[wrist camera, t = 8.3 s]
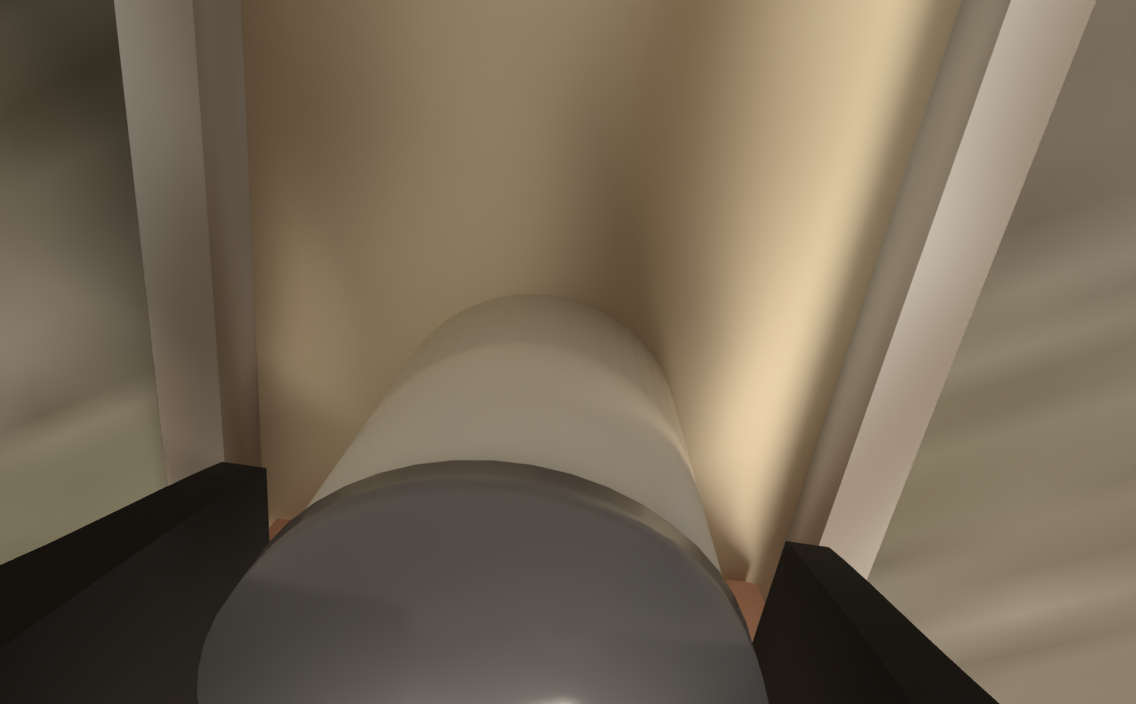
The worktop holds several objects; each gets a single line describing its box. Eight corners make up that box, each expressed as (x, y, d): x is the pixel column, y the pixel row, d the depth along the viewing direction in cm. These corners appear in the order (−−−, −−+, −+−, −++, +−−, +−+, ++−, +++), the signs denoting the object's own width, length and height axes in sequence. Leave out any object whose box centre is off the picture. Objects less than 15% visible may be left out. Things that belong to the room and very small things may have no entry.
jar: (697, 297, 10) (823, 521, 5) (664, 554, 12) (726, 929, 7) (382, 280, 10) (146, 480, 5) (398, 537, 12) (240, 895, 7)
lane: (1029, -17, 9) (1473, -140, 4) (712, 868, 16) (758, 1159, 12) (172, -152, 9) (-277, -427, 4) (243, 808, 16) (108, 1083, 11)
